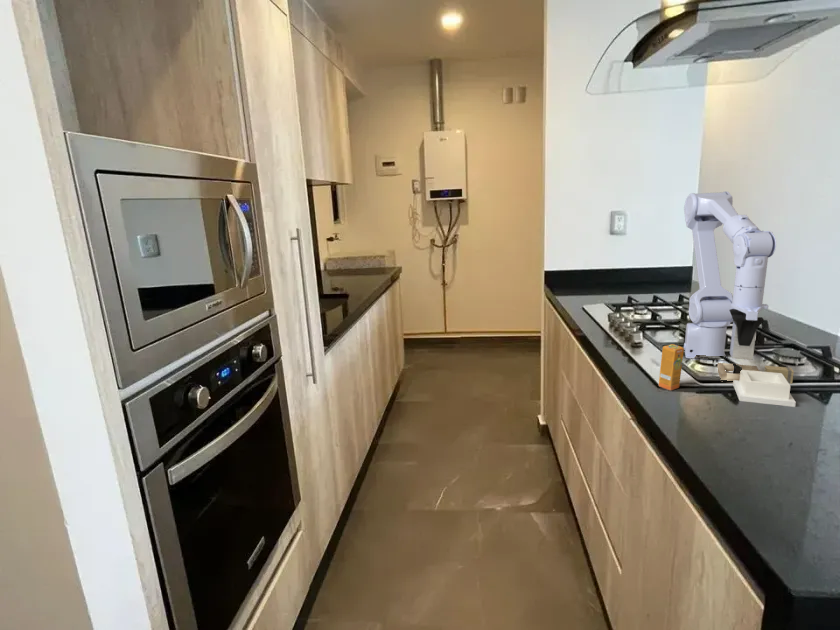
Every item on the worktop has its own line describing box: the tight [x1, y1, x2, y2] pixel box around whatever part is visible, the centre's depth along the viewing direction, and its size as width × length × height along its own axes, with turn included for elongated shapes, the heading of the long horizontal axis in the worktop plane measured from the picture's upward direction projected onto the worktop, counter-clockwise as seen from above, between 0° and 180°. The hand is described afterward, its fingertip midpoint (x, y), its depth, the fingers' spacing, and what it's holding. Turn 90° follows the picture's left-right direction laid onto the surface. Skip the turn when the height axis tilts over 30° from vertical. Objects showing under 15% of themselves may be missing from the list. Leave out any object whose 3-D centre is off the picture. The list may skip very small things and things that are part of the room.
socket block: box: [716, 362, 760, 381], centre depth 114 cm, size 8×8×2 cm
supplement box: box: [658, 343, 685, 391], centre depth 110 cm, size 3×3×10 cm
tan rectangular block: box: [763, 365, 795, 385], centre depth 111 cm, size 5×2×3 cm, turn 65°
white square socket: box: [732, 370, 797, 408], centre depth 104 cm, size 10×10×4 cm
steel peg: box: [729, 321, 757, 361], centre depth 112 cm, size 4×4×8 cm
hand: (742, 342), depth 112 cm, fingers closed on steel peg, 4 cm apart
